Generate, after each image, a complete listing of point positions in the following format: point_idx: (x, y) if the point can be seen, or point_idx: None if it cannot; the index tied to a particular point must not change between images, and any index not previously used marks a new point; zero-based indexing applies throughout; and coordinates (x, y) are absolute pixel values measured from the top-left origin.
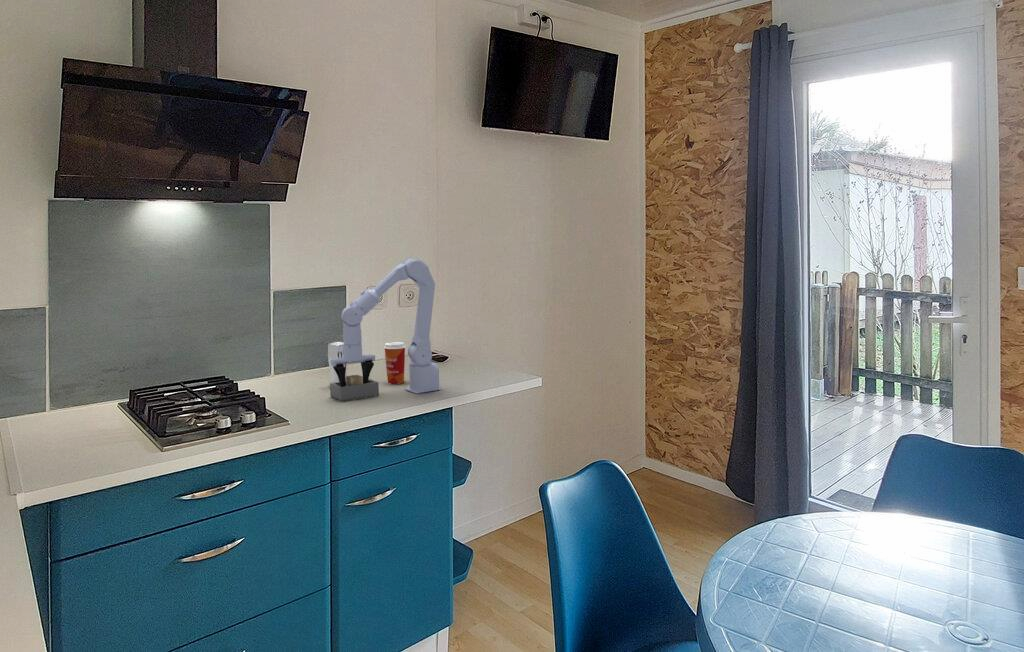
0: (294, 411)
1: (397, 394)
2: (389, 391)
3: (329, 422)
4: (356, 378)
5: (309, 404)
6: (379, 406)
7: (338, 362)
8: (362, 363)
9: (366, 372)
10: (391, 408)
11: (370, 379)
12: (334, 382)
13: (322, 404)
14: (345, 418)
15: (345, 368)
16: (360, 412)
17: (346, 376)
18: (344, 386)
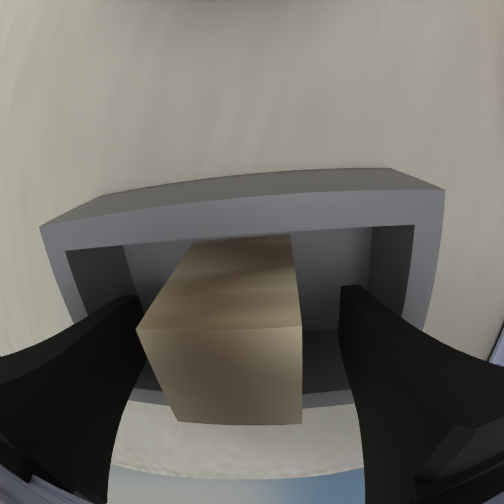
0: (12, 343)
1: (450, 343)
2: (470, 265)
3: (116, 458)
4: (232, 417)
5: (27, 293)
6: (276, 449)
7: (8, 489)
8: (415, 469)
9: (361, 433)
10: (297, 467)
11: (426, 286)
12: (67, 221)
13: (69, 326)
14: (151, 463)
15: (101, 496)
16: (196, 459)
17: (141, 341)
18: (137, 388)
